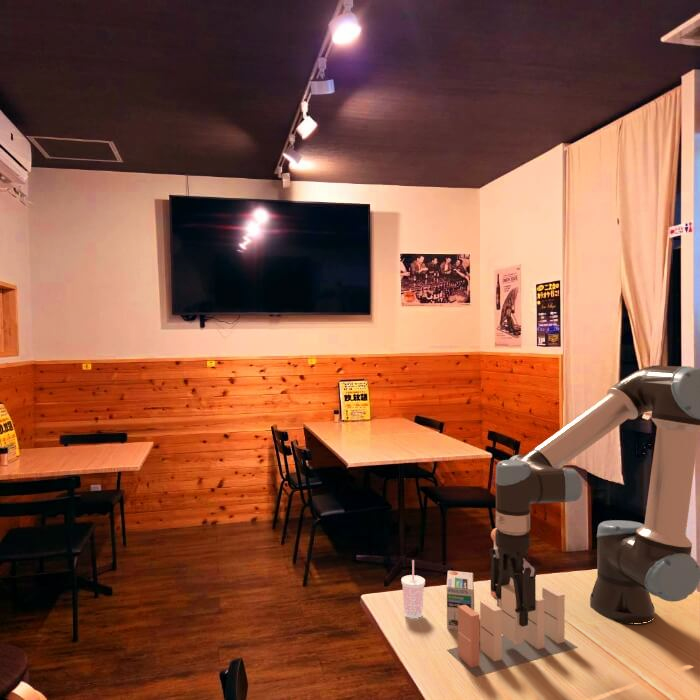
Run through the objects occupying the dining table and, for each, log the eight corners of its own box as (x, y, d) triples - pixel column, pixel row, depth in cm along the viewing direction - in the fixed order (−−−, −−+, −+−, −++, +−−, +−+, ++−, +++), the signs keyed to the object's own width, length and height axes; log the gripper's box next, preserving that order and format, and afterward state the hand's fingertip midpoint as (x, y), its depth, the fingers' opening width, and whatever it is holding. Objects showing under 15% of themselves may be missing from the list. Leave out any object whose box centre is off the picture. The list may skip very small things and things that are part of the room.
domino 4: (548, 631, 133) (549, 585, 133) (564, 641, 128) (564, 594, 128) (542, 633, 132) (542, 587, 132) (557, 643, 128) (557, 596, 128)
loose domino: (508, 631, 128) (508, 584, 128) (523, 642, 124) (523, 593, 124) (501, 633, 127) (501, 585, 127) (515, 644, 123) (515, 594, 123)
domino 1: (465, 653, 124) (465, 604, 123) (479, 665, 119) (479, 614, 119) (457, 655, 123) (457, 606, 123) (471, 667, 118) (471, 616, 118)
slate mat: (543, 627, 136) (543, 625, 136) (577, 649, 126) (577, 647, 126) (446, 652, 125) (446, 649, 125) (476, 679, 115) (476, 676, 115)
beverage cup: (398, 617, 141) (398, 563, 141) (405, 607, 147) (405, 554, 147) (421, 622, 139) (421, 566, 139) (427, 611, 145) (427, 558, 144)
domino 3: (529, 636, 131) (529, 590, 131) (544, 647, 126) (544, 599, 126) (522, 638, 130) (522, 591, 130) (537, 649, 125) (537, 600, 125)
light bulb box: (474, 634, 133) (474, 589, 133) (446, 631, 134) (446, 587, 134) (473, 613, 144) (473, 571, 144) (447, 610, 145) (447, 569, 145)
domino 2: (487, 647, 126) (487, 599, 126) (501, 659, 121) (502, 609, 121) (480, 649, 125) (480, 601, 125) (494, 661, 120) (494, 611, 120)
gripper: (474, 520, 132) (474, 617, 132) (526, 545, 116) (526, 656, 116) (500, 516, 135) (499, 611, 135) (554, 540, 119) (554, 648, 119)
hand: (512, 632), depth 126 cm, fingers closed on loose domino, 5 cm apart
